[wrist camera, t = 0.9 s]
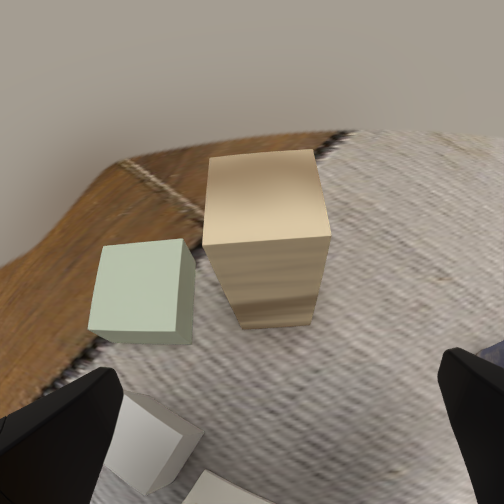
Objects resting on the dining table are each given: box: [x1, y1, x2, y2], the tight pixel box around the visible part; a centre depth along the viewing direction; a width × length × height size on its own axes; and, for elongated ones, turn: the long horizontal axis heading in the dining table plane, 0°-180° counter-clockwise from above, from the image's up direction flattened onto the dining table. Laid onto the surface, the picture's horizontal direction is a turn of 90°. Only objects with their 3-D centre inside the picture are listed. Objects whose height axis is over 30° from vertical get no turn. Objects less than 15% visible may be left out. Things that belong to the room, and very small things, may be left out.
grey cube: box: [103, 390, 204, 496], centre depth 16 cm, size 5×5×5 cm
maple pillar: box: [202, 149, 331, 329], centre depth 18 cm, size 5×5×12 cm
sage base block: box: [88, 239, 196, 345], centre depth 23 cm, size 7×7×4 cm
